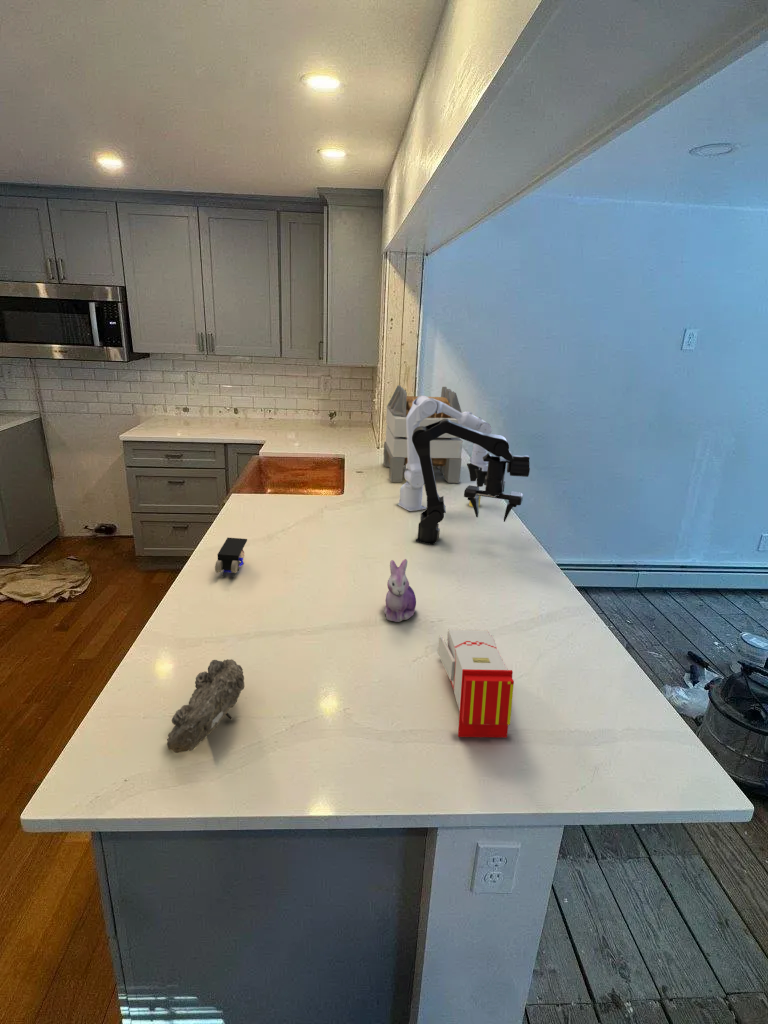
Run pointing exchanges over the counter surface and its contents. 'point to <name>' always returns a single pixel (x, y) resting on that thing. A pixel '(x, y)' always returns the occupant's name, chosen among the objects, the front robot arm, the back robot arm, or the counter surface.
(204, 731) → the fossil
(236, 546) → the black wheeled block
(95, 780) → the counter surface
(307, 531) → the counter surface
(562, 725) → the counter surface
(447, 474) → the transformer
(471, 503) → the cylinder
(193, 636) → the counter surface
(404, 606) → the figurine
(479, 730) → the toy
